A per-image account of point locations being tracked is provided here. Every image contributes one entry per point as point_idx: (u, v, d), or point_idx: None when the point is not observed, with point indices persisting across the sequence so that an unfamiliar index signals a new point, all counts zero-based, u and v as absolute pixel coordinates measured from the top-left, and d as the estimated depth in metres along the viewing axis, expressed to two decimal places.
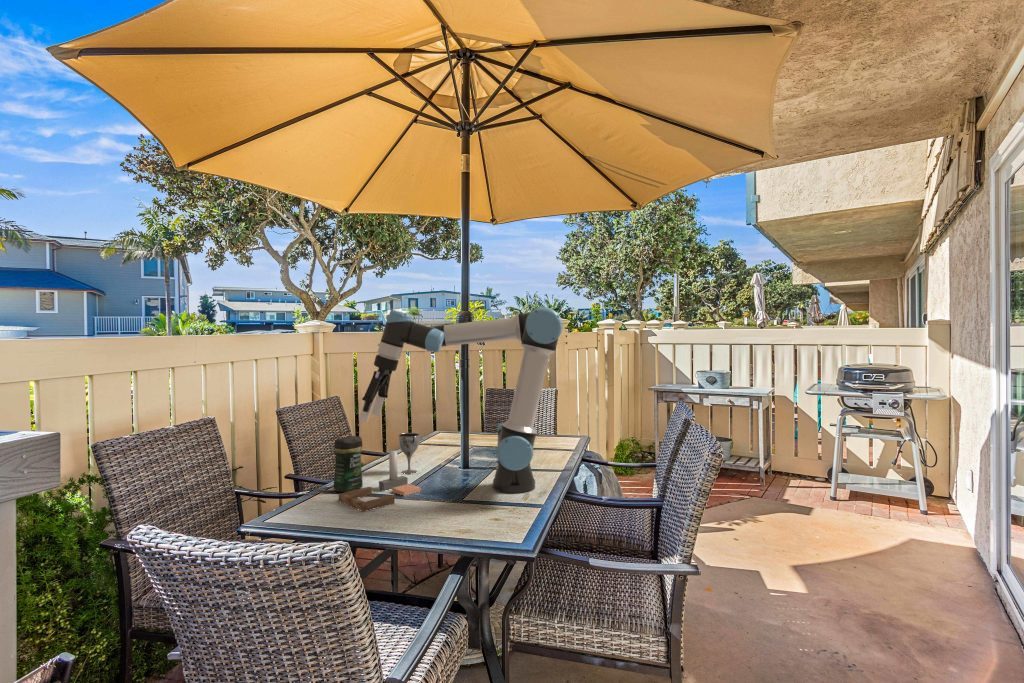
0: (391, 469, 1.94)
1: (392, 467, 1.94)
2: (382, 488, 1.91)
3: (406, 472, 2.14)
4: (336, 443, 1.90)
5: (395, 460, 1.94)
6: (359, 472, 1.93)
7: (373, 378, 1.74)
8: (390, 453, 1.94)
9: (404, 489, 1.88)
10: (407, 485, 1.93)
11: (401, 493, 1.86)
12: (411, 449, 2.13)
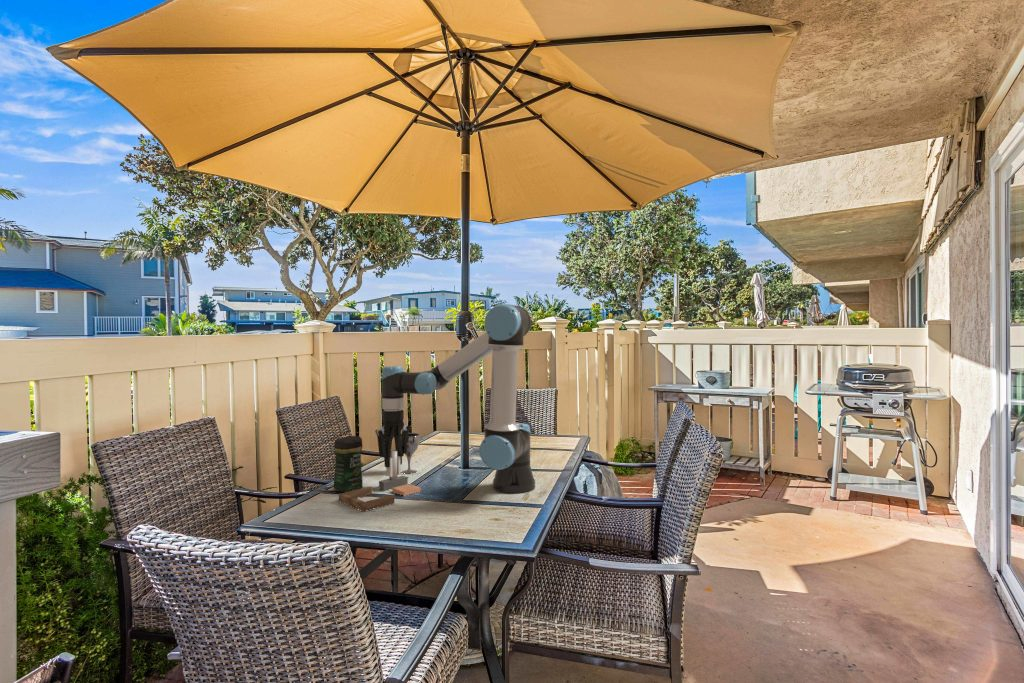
0: None
1: (392, 467, 1.94)
2: (382, 488, 1.91)
3: (406, 472, 2.14)
4: (336, 443, 1.90)
5: (395, 460, 1.94)
6: (359, 472, 1.93)
7: (378, 437, 1.91)
8: None
9: (404, 489, 1.88)
10: (407, 485, 1.93)
11: (401, 493, 1.86)
12: (411, 449, 2.13)
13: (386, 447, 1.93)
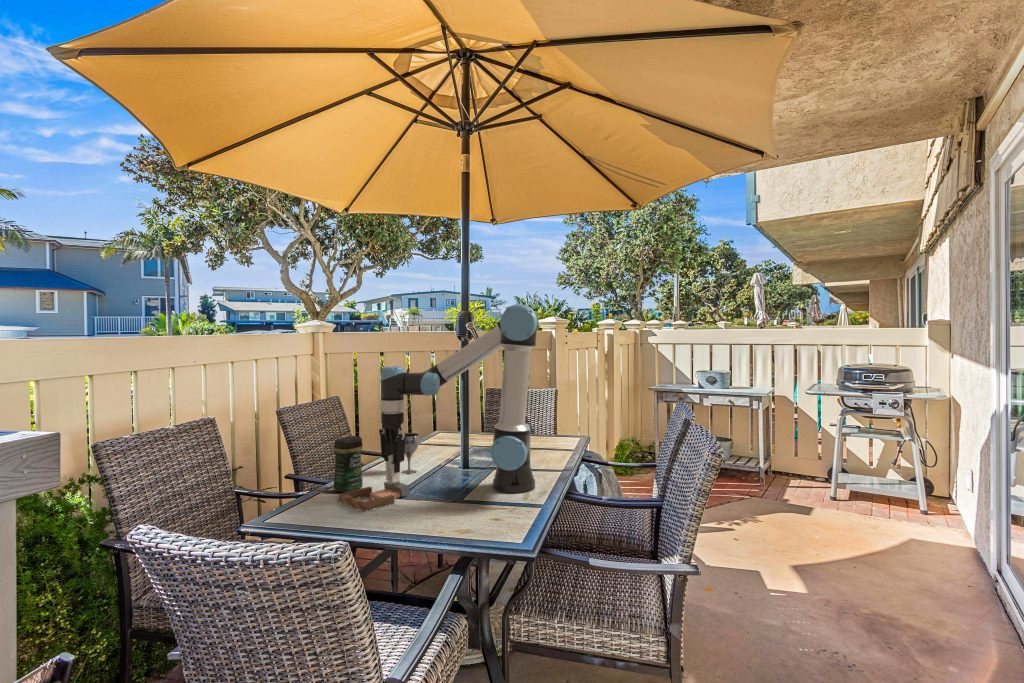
0: None
1: None
2: None
3: (406, 472, 2.14)
4: (336, 443, 1.90)
5: (390, 465, 1.85)
6: (359, 472, 1.93)
7: None
8: None
9: (382, 494, 1.81)
10: (386, 490, 1.86)
11: None
12: (411, 449, 2.13)
13: None
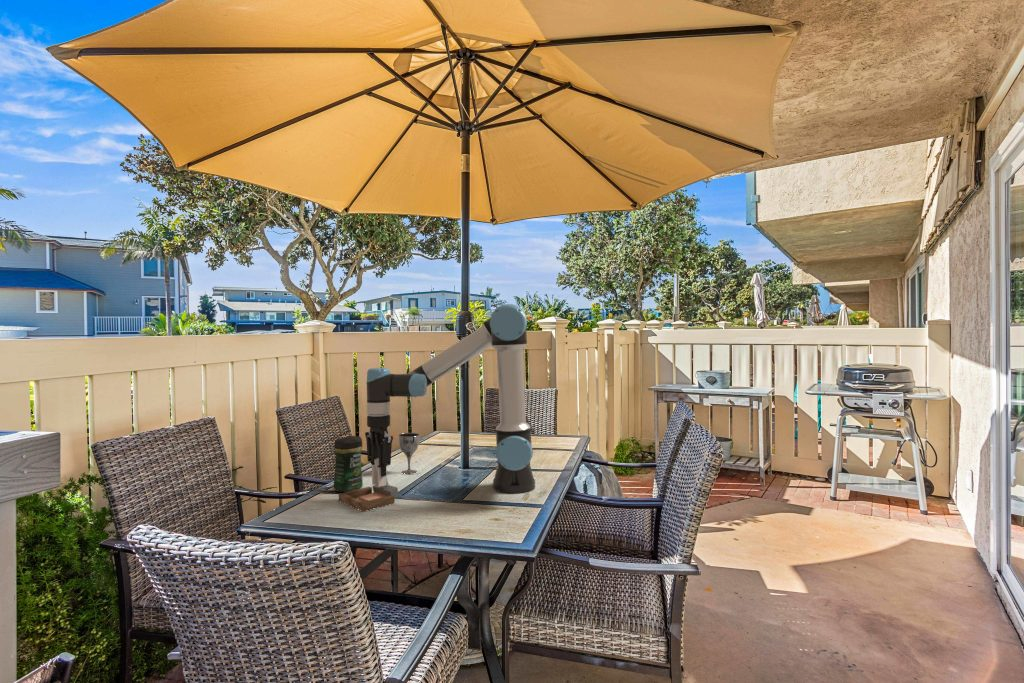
0: None
1: None
2: None
3: (406, 472, 2.14)
4: (336, 443, 1.90)
5: (376, 469, 1.81)
6: (359, 472, 1.93)
7: None
8: None
9: (371, 498, 1.78)
10: (374, 494, 1.83)
11: None
12: (411, 449, 2.13)
13: None
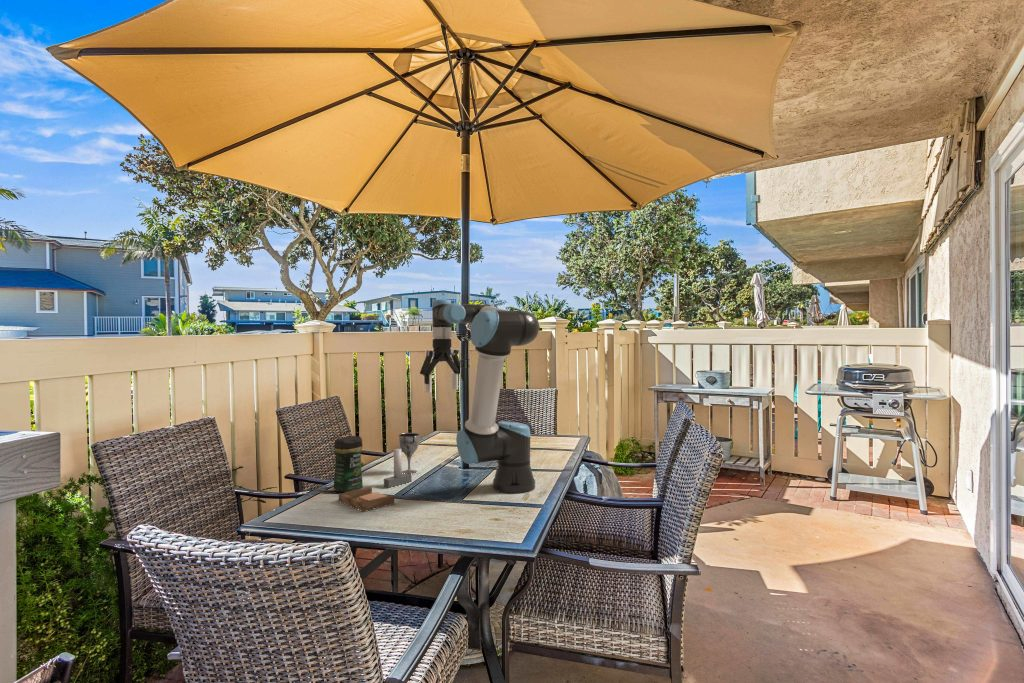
0: (396, 467, 1.97)
1: (397, 465, 1.97)
2: (387, 485, 1.95)
3: (406, 472, 2.14)
4: (336, 443, 1.90)
5: (400, 458, 1.98)
6: (359, 472, 1.93)
7: (426, 356, 2.15)
8: (395, 451, 1.97)
9: (371, 498, 1.78)
10: (374, 494, 1.83)
11: None
12: (411, 449, 2.13)
13: (429, 367, 2.15)
